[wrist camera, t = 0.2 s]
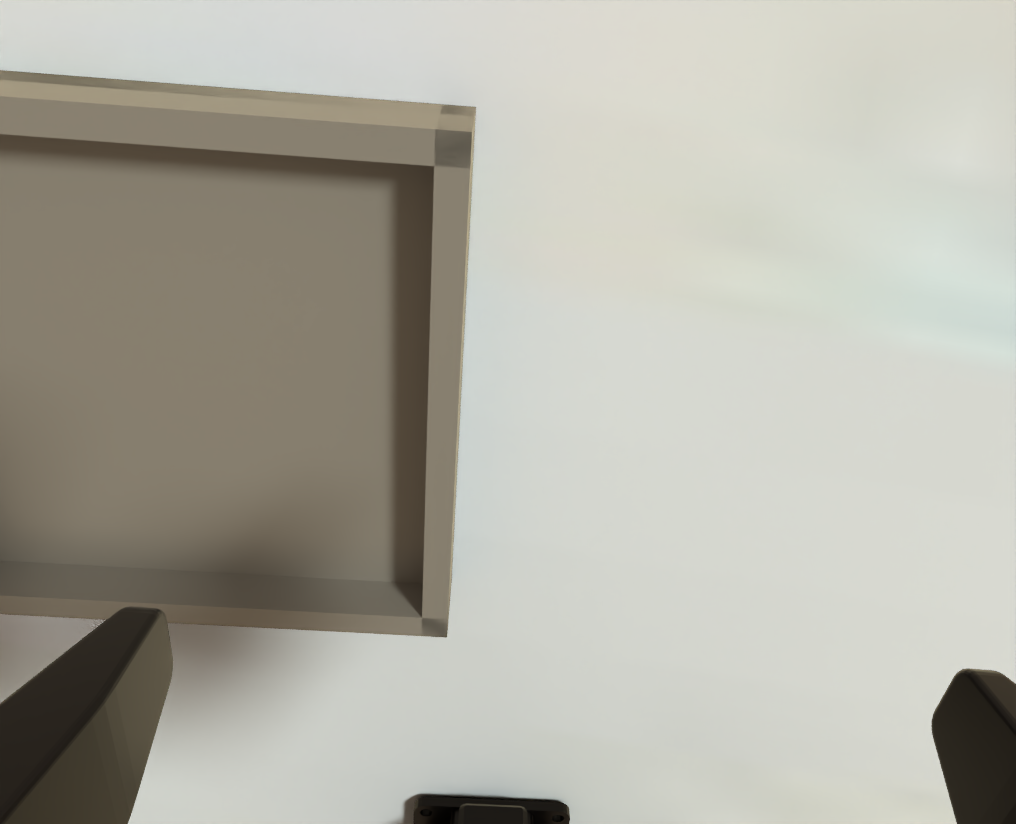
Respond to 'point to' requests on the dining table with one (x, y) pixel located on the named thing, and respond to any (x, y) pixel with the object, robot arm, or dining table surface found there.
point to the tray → (230, 353)
